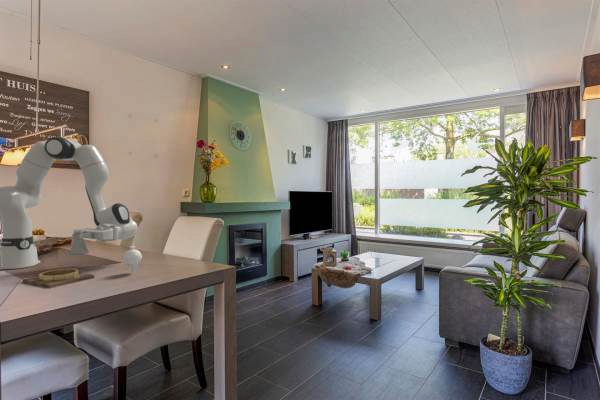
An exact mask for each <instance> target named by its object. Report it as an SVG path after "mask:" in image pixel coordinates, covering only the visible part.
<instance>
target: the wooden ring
mask: <svg viewBox="0 0 600 400" xmlns="http://www.w3.org/2000/svg"><path fill="white" fill-rule="evenodd" d="M79 273H80V272H79V269H77V268H61V269H59V268H58V269H50V270H47V271H43V272H40V273H39V274H38V276H39V281H60V280H66V279H71V278H75V277H77V276H79ZM59 274H64V275H59ZM52 275H55V276H52Z"/></svg>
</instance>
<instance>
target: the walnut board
mask: <svg viewBox="0 0 600 400" xmlns="http://www.w3.org/2000/svg"><path fill="white" fill-rule="evenodd" d="M59 275H64V274H59ZM52 276H55V275H52ZM91 279H95V274H91V273H85V272H84V273H83V272H79V276H77V277H75V278H71V279H66V280H60V281H39V275H38V276H34V277H28V278H23V279H22V283H24V284H29V285H35V286H39V287H42V288H49V289H51V288H56V287H61V286H66V285H69V284H70V285H71V284H73V283H78V282H82V281H86V280H91Z"/></svg>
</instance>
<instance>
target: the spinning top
mask: <svg viewBox="0 0 600 400" xmlns="http://www.w3.org/2000/svg"><path fill="white" fill-rule="evenodd" d="M135 248H136V247H135V246H134V245H132V246H129V249H128V250H126V251H124V253H123V255H122V261H123V262H124V264H125V266H126V267H127V268H128V269H129V270H130V271H131V273H132V274H134V271H135V270H136V269H137V267H138V266H139V265H140V263H141V261H142V258H143V256H142V253H141V251H139V250H138V249H135Z"/></svg>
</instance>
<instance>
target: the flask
mask: <svg viewBox="0 0 600 400" xmlns="http://www.w3.org/2000/svg"><path fill="white" fill-rule="evenodd" d="M73 233H75V238H74V239H73V242H72V245H71V247H70V249H69V253H68V255H70V256H79V255H85V254H88V253H90V251H89V249H88V247H87V245H86V244H85V241H84V238H78V234H82V233H83V231H76V232H74V231H73Z"/></svg>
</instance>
